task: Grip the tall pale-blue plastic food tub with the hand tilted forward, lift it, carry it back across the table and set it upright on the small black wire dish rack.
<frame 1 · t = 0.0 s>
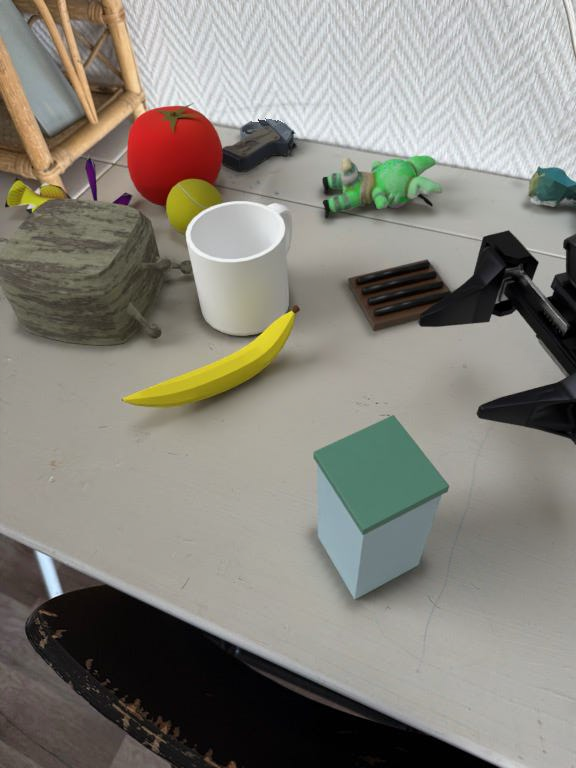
hand: (447, 363, 43), 14 cm above the table, tool horizontal, fingers open, 9 cm apart
tennis ball: (209, 222, 72), point 4 cm above the table
toy 2: (320, 191, 78), point 2 cm above the table
food tub: (367, 550, 49), on the table
mug: (253, 300, 68), on the table
banana: (221, 389, 60), on the table
tomato: (181, 193, 82), on the table
handgun: (210, 147, 88), point 1 cm above the table
toy: (85, 167, 77), point 6 cm above the table
dish rack: (401, 296, 67), on the table
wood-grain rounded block: (176, 280, 64), point 4 cm above the table
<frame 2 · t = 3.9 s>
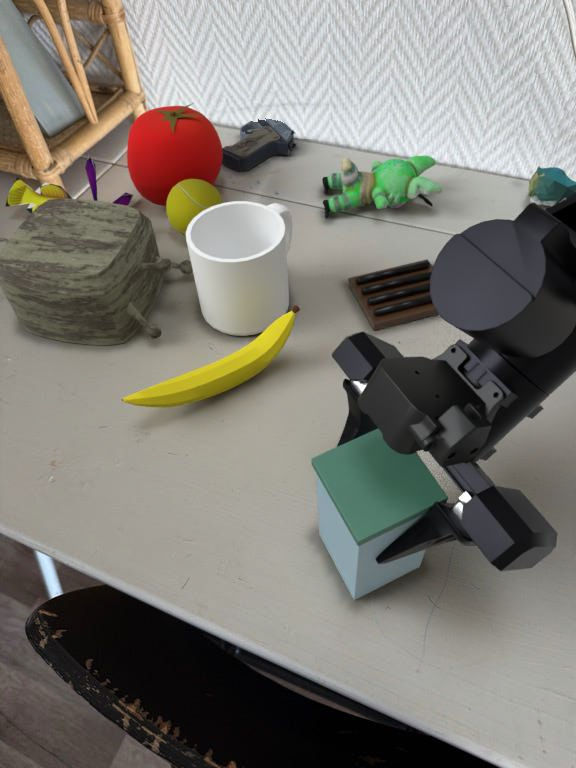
hand: (352, 519, 43), 7 cm above the table, tool tilted 45°, fingers closed on food tub, 7 cm apart
food tub: (368, 550, 48), on the table, touching gripper
everything else where it was.
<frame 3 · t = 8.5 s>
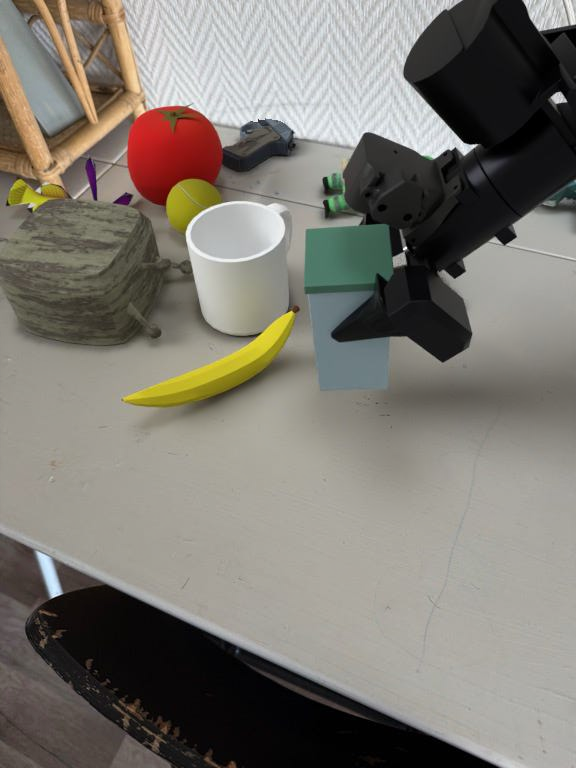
hand: (332, 307, 49), 13 cm above the table, tool tilted 45°, fingers closed on food tub, 7 cm apart
food tub: (352, 363, 54), point 6 cm above the table, touching gripper
everything else where it was.
when the fingers open (9 cm above the table, at t = 12.9 s): food tub stays where it is, resting on dish rack.
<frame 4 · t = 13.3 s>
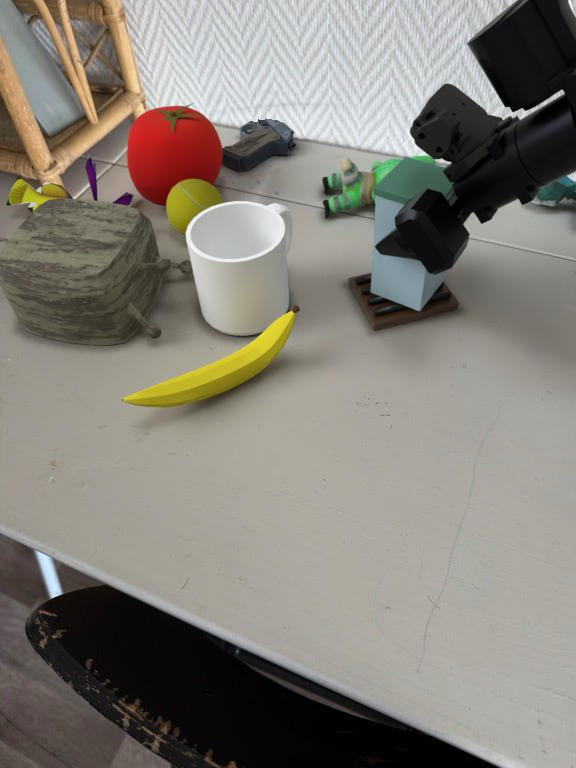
hand: (398, 224, 61), 9 cm above the table, tool tilted 45°, fingers open, 9 cm apart
food tub: (407, 286, 66), point 2 cm above the table, touching dish rack, gripper
everything else where it was.
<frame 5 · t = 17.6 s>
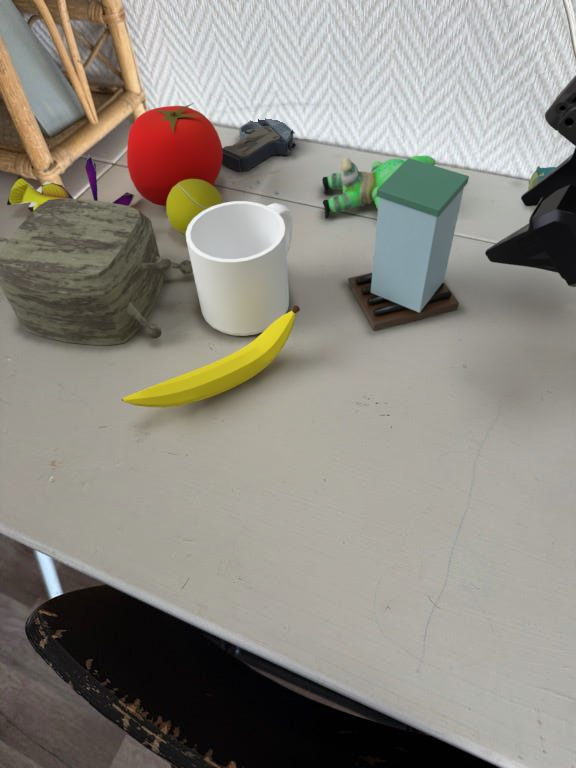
hand: (506, 227, 53), 14 cm above the table, tool tilted 45°, fingers open, 9 cm apart
food tub: (407, 286, 66), point 2 cm above the table, touching dish rack
everything else where it was.
at the end: food tub inside the target area on the dish rack (0.6 cm from its centre), point 1.8 cm above the dish rack's base; food tub tilted 0°; the gripper is holding nothing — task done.
